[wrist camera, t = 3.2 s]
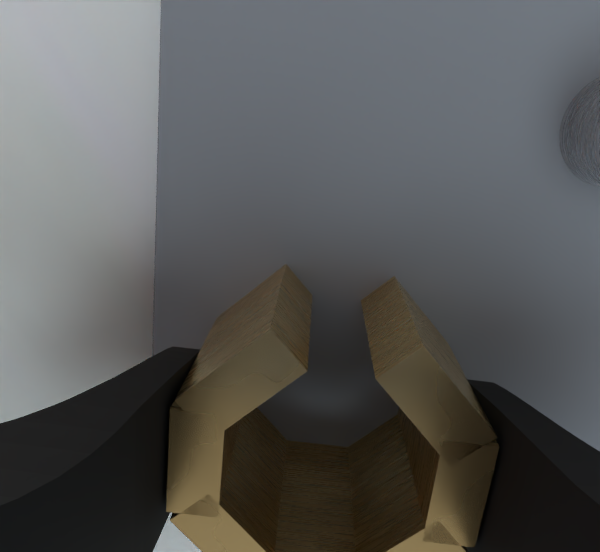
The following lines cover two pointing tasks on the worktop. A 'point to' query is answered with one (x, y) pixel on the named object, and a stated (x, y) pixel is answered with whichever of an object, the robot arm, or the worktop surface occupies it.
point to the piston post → (583, 134)
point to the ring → (319, 457)
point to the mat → (384, 190)
